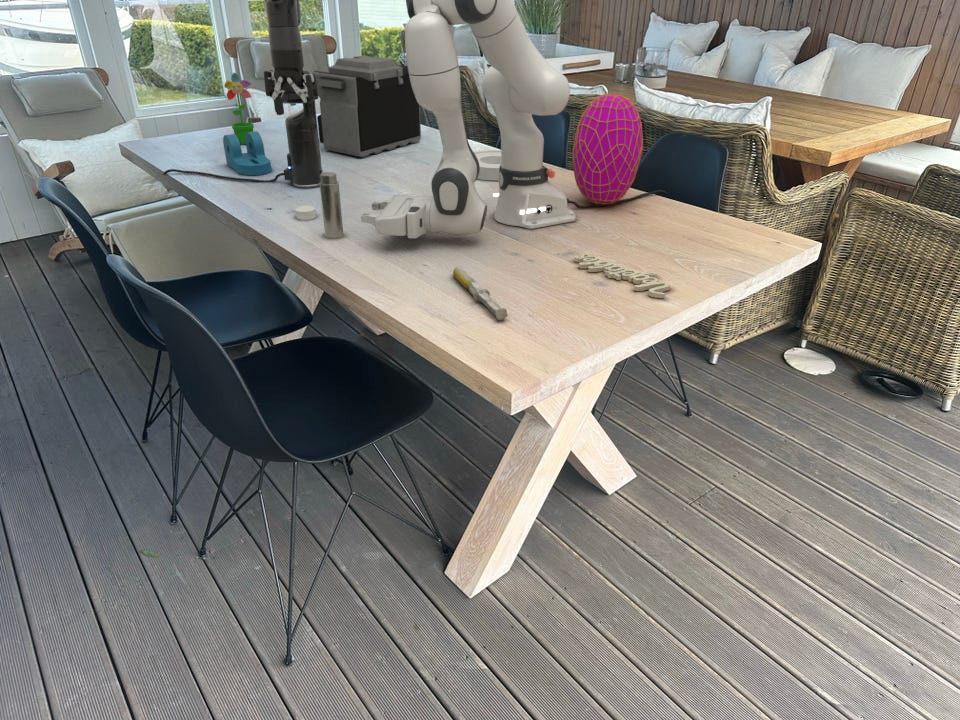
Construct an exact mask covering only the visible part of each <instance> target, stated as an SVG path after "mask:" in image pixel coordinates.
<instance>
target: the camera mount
mask: <svg viewBox="0 0 960 720" xmlns="http://www.w3.org/2000/svg"><path fill="white" fill-rule="evenodd" d="M245 139H246V144H245V146H246V152H243V151H242V150H243V149H242V145H241V144H240V142H239V140H238V138H237V136H236V135H235V134H234V133H231V134H224V135H223V138H222V140H223V141H222V143H223V149H224V150H223V151H224V156H225V161H226V165H227V166H228V167H230V168H231V169H232V170H234V171H236V172H237V173H238V174H239V175H244V176H260V175H265V174H268V173H271V172H272V164H271V159H270V158H268V157H267V156H266V153H265V145H264V141H263V139H262V136H261V134H260V132H258V131H253V132H247V133H246V137H245Z"/></svg>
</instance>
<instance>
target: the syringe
mask: <svg viewBox="0 0 960 720" xmlns="http://www.w3.org/2000/svg"><path fill="white" fill-rule="evenodd" d="M452 274H453V277H454V279H455V280H457V281H458V282H459V283H460V285H462V287H464V289H466V290H467V291H468V293H470V295H471V296H472V298H473V300H474V302H477V303H478V302H480V303H482V304H483V305H484V306H485V307H486V308H487V309H488V310H489V311H490V312H491V313H492V314H493V315H494V316H495V317H496V320H497V321H503V320H504V319H506V318H507V317H509V314H508V310H507V308H506V307H502V306H501V305H500V303H498V302H497V301H496V300H494V299H493V298H492V297H491V296H490V295H491V293H490V290H488V289H486V288H483V287H482V286H481V285H480V284H479V283H478V282H477V281H476V280H474V278H473V277H471V275H469V274H468V273H467V272H466V270H465V269H464V268H463V267H462V266H456V267H454V268H453V271H452Z"/></svg>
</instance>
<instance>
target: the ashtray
mask: <svg viewBox="0 0 960 720" xmlns="http://www.w3.org/2000/svg"><path fill="white" fill-rule="evenodd" d="M473 152H474V154H475V155H476V157H477V159H478V162H479V166H480V171H479V175H478V178H477V179H476V180H483V181H495V182H497V181H498V182H499V180H498V179H499V166H500V165H501V149H500V150H499V149H494V150H493V149H491V150H490V149H489V150H477V151H473Z"/></svg>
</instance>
